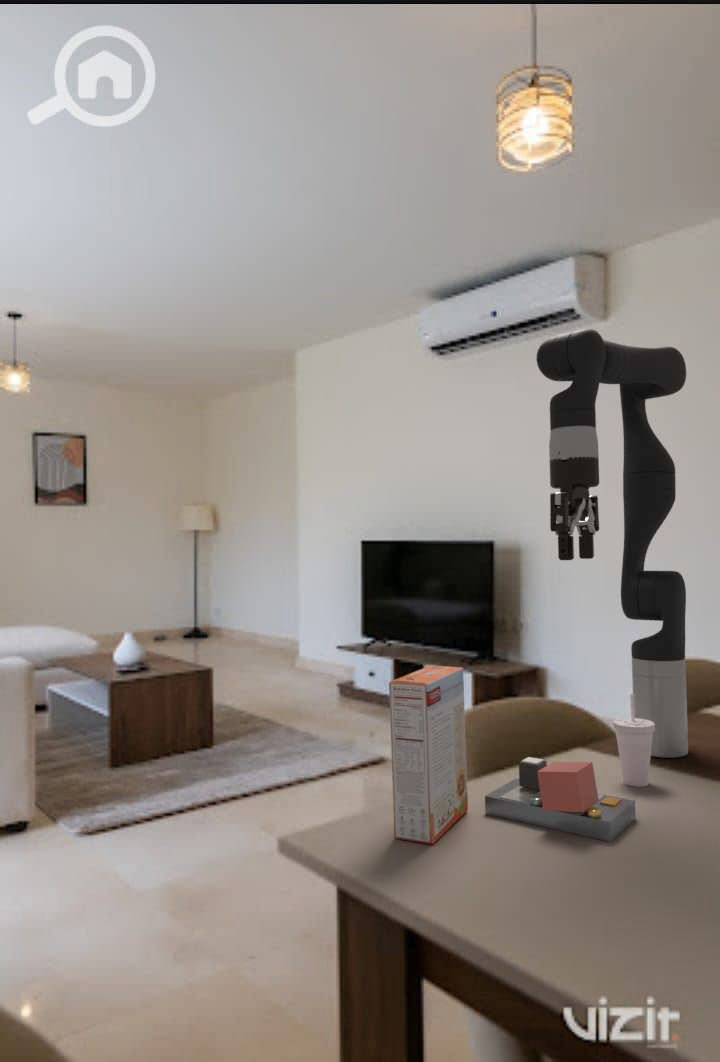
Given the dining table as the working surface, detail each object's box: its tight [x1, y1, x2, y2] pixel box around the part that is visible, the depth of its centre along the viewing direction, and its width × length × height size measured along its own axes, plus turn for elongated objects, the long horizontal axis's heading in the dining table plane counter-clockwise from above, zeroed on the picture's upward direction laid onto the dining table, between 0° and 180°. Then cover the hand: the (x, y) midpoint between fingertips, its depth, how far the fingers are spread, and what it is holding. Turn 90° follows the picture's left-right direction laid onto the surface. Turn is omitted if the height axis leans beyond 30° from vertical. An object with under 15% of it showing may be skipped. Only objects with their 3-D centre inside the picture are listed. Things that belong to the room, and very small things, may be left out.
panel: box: [484, 778, 637, 843], centre depth 105 cm, size 10×18×3 cm, turn 52°
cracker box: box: [388, 665, 469, 845], centre depth 103 cm, size 14×6×21 cm, turn 152°
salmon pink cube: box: [537, 761, 599, 812], centre depth 101 cm, size 6×6×5 cm
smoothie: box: [612, 693, 655, 788], centre depth 119 cm, size 6×6×14 cm
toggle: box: [518, 756, 548, 790], centre depth 110 cm, size 3×3×4 cm
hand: (576, 559), depth 118 cm, fingers open, 8 cm apart
